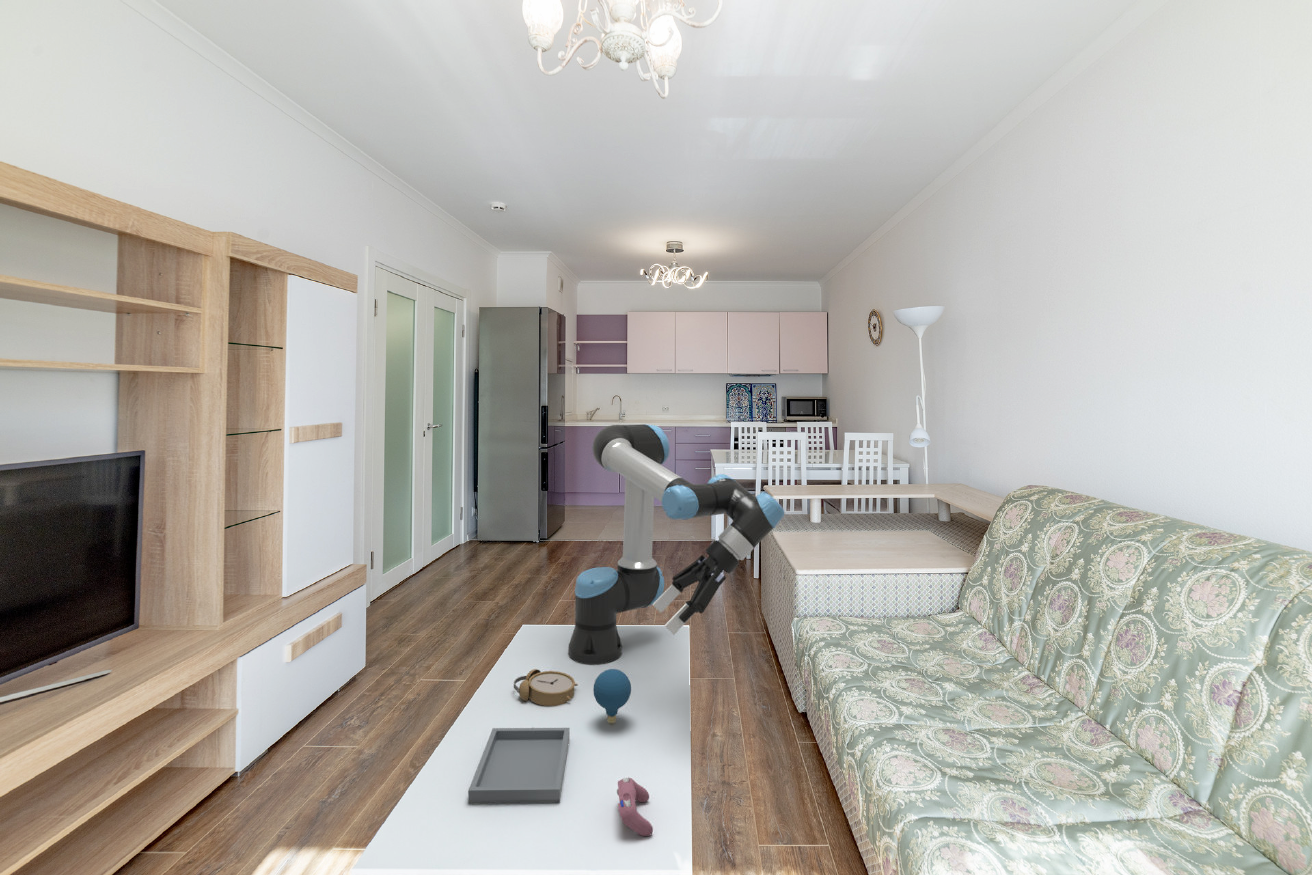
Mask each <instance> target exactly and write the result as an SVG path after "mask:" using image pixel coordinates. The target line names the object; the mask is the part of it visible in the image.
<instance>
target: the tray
mask: <svg viewBox="0 0 1312 875" xmlns="http://www.w3.org/2000/svg"><path fill="white" fill-rule="evenodd" d="M570 732H571V731H570V727H492V729H491V732H490V735H489V737H488V740H487V742H486V745H485V748H484V750H483V752H482V755H481V757H480V760H479V763H478V765H477V767H476V770H475V772H474V775H473V778H472V780H471V783H470V786H469V788H468V790H467V791H468V797H467V800H468V802H467V804H468V805H496V804H498V805H499V804H501V803H502V804H503V805H505V804H506V805H507V804H559V803H561V802H560V801H561V796H562V789H563V783H564V775H565V769H566V762H567V757H568V756H567V755H568V750H569V745H570ZM568 744H569V745H568Z"/></svg>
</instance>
